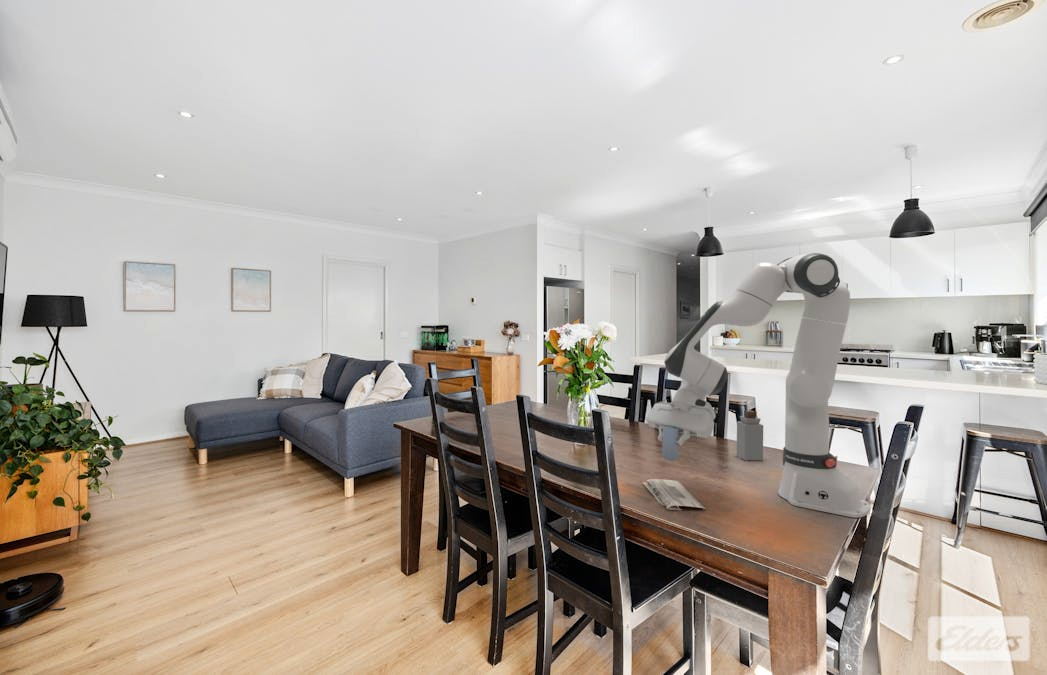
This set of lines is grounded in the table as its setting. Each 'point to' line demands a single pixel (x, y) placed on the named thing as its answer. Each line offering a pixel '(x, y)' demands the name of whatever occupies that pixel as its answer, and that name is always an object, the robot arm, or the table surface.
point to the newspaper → (671, 494)
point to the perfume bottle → (750, 437)
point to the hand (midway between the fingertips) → (669, 442)
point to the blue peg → (670, 443)
